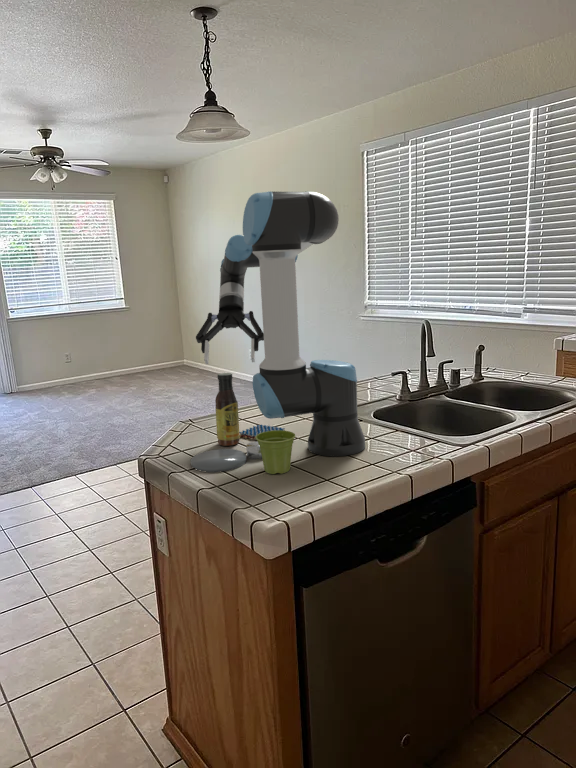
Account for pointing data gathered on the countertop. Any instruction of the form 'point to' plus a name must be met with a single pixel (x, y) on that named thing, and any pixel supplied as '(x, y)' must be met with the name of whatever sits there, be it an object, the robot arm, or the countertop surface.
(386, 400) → the countertop surface
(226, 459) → the disc
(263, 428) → the woven mat
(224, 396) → the sauce bottle
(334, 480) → the countertop surface
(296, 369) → the robot arm
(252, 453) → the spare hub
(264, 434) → the plant pot
